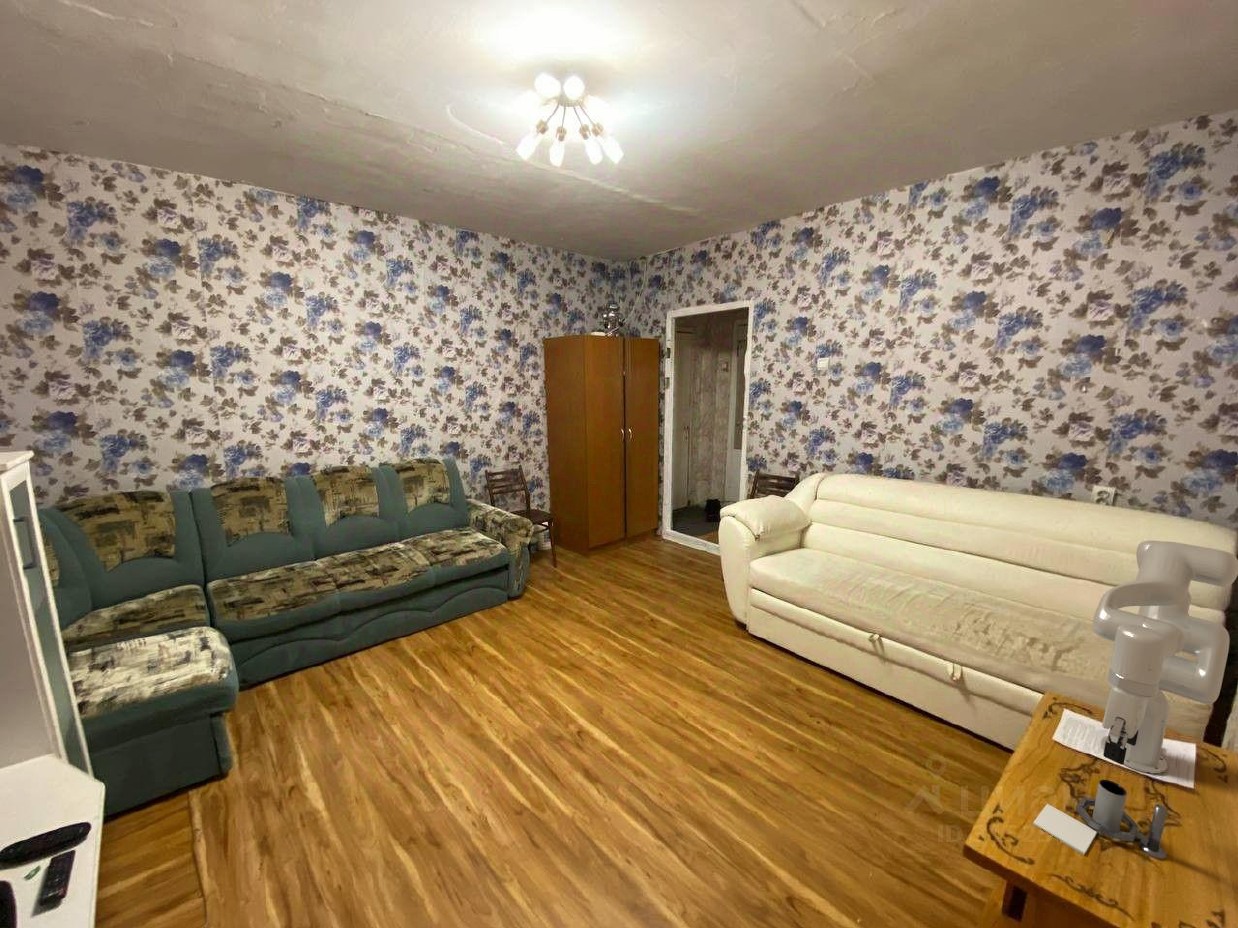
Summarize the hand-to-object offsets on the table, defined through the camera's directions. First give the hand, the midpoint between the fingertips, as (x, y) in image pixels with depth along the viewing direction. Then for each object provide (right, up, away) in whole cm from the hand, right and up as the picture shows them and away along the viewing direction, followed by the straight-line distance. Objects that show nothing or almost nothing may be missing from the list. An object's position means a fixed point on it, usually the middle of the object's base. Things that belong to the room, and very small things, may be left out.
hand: (1119, 750), depth 111 cm
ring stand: (+2, -20, +2) cm, 20 cm away
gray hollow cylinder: (0, -20, +4) cm, 20 cm away
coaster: (-10, -20, +3) cm, 22 cm away
